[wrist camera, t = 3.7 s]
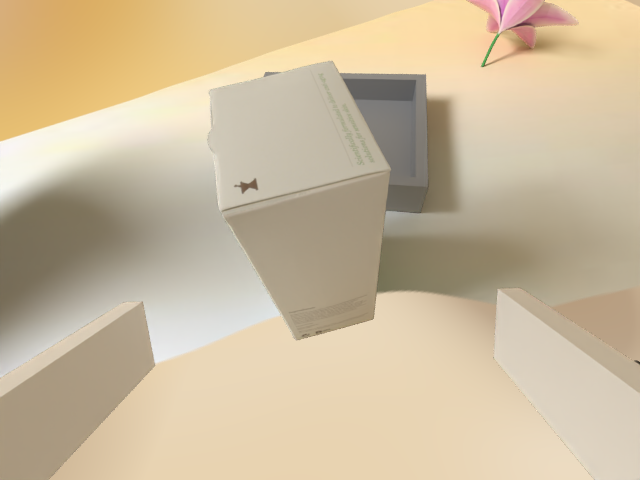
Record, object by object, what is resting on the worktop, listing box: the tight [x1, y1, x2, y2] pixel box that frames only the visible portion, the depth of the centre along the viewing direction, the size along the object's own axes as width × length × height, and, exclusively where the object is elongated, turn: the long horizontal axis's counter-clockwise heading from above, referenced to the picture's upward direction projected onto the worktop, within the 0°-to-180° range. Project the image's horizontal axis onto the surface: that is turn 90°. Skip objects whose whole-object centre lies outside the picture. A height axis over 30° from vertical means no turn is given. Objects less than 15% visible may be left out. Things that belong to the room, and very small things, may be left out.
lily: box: [467, 0, 579, 67], centre depth 38 cm, size 12×12×10 cm
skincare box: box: [208, 61, 391, 340], centre depth 19 cm, size 8×7×16 cm
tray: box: [264, 72, 428, 213], centre depth 33 cm, size 18×16×4 cm
